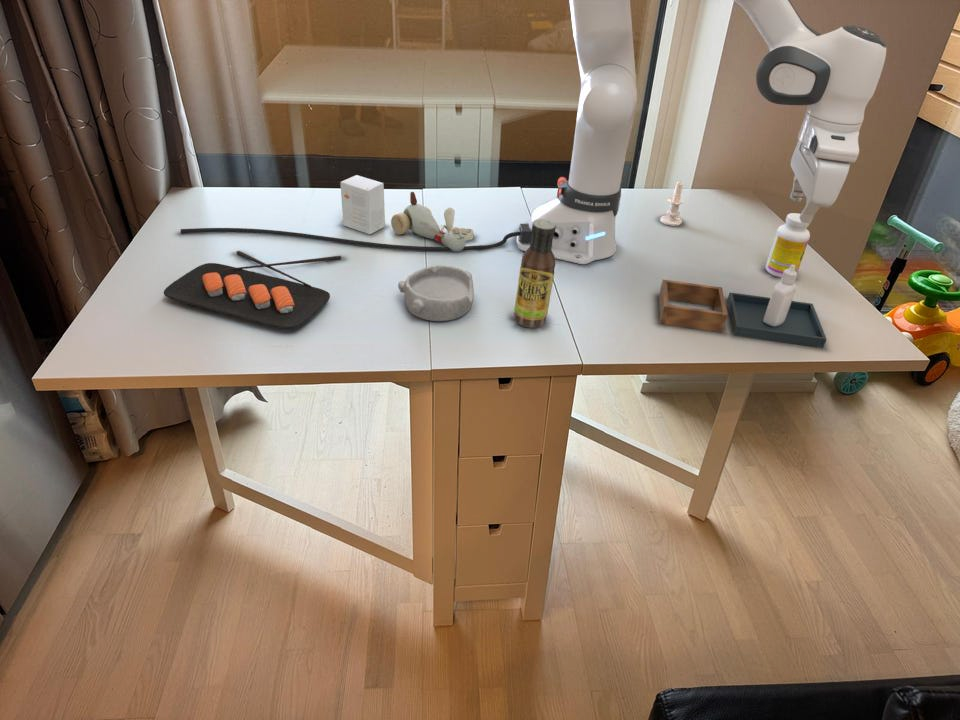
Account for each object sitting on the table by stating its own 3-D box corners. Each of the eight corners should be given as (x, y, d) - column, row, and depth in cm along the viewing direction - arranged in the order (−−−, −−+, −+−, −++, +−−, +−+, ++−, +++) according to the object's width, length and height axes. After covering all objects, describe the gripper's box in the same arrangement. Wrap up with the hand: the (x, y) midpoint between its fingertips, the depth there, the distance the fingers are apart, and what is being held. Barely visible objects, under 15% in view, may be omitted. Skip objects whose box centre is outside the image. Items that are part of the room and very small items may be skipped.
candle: (681, 218, 178) (691, 178, 172) (681, 227, 174) (691, 186, 167) (660, 215, 178) (669, 175, 172) (660, 224, 174) (669, 183, 168)
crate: (660, 323, 137) (664, 305, 134) (658, 296, 145) (662, 279, 143) (722, 332, 135) (727, 314, 133) (717, 304, 144) (722, 287, 141)
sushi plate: (157, 302, 132) (153, 284, 130) (253, 237, 156) (251, 221, 153) (295, 339, 125) (293, 321, 123) (374, 266, 148) (373, 249, 146)
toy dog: (459, 257, 154) (461, 218, 149) (381, 239, 159) (380, 201, 153) (479, 235, 163) (482, 198, 158) (405, 218, 168) (405, 182, 163)
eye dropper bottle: (792, 325, 138) (813, 269, 131) (768, 328, 137) (787, 272, 130) (779, 313, 141) (798, 258, 135) (754, 316, 140) (773, 261, 133)
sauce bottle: (510, 326, 133) (519, 227, 121) (517, 309, 138) (527, 212, 126) (543, 332, 132) (557, 233, 120) (550, 316, 137) (563, 218, 125)
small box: (385, 227, 164) (384, 183, 158) (369, 235, 160) (368, 190, 154) (358, 217, 167) (356, 174, 161) (342, 225, 163) (339, 181, 157)
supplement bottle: (798, 281, 154) (818, 226, 147) (766, 276, 155) (784, 221, 148) (793, 267, 159) (812, 213, 152) (763, 263, 160) (780, 209, 153)
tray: (733, 335, 135) (736, 326, 134) (726, 300, 145) (729, 292, 144) (823, 348, 133) (826, 339, 132) (809, 312, 144) (812, 303, 142)
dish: (467, 284, 144) (469, 262, 142) (482, 321, 134) (484, 298, 131) (395, 288, 141) (395, 266, 139) (405, 326, 131) (405, 303, 128)
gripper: (797, 113, 129) (773, 186, 137) (820, 150, 112) (791, 231, 120) (833, 118, 128) (806, 191, 136) (862, 156, 112) (829, 237, 120)
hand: (799, 210), depth 128 cm, fingers open, 8 cm apart
